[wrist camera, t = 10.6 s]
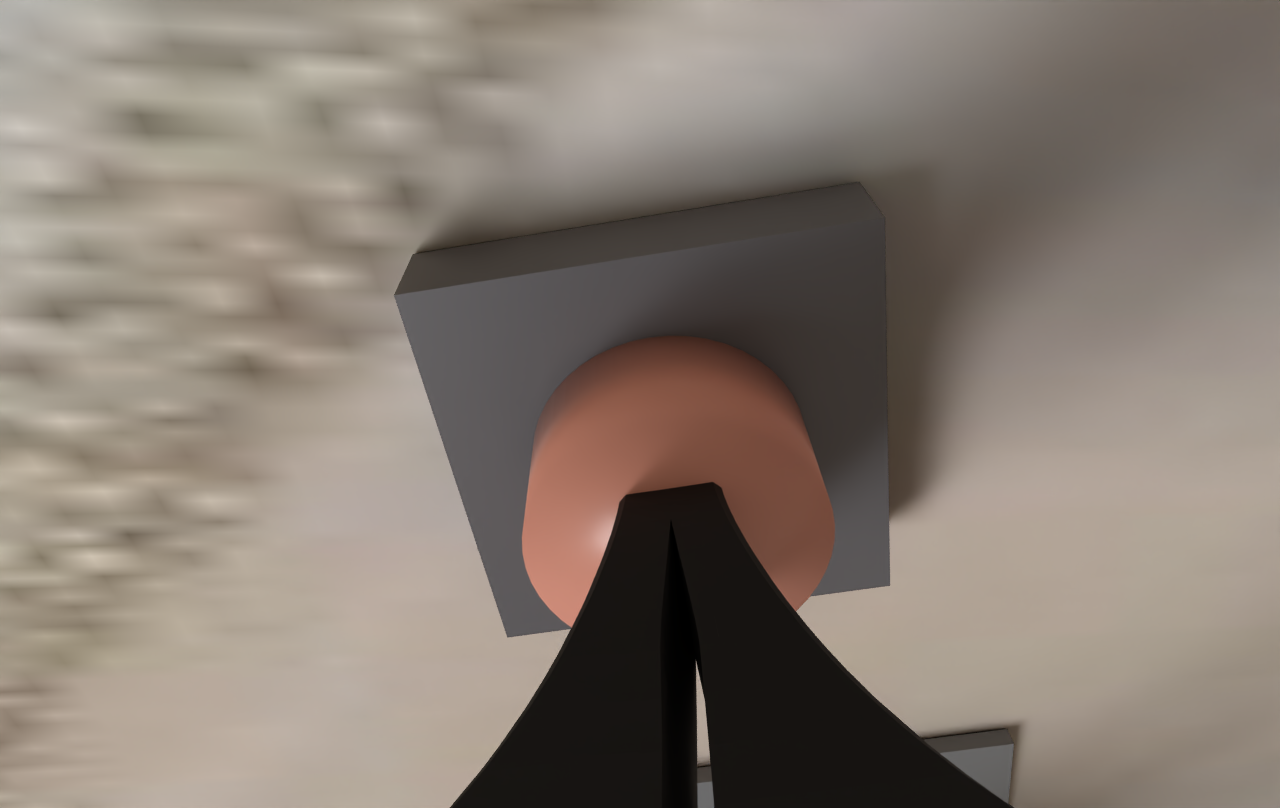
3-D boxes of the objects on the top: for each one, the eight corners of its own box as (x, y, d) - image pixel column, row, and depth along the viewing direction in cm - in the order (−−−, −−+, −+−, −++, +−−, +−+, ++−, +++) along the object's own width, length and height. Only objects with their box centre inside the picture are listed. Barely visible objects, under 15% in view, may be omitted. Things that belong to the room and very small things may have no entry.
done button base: (514, 580, 18) (507, 637, 17) (413, 254, 14) (393, 295, 13) (869, 531, 18) (889, 585, 16) (859, 182, 14) (884, 218, 13)
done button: (563, 575, 16) (556, 673, 14) (504, 359, 14) (487, 442, 12) (813, 540, 16) (841, 635, 14) (796, 314, 13) (826, 392, 12)
